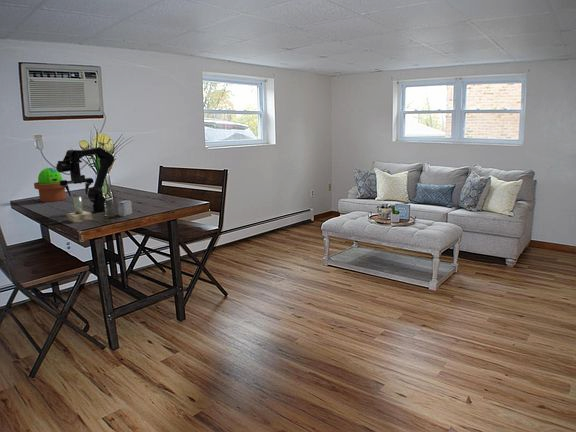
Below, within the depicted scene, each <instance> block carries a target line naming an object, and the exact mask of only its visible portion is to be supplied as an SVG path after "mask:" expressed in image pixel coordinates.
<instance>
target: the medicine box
mask: <svg viewBox="0 0 576 432" xmlns="http://www.w3.org/2000/svg"><path fill="white" fill-rule="evenodd" d="M132 205H133V203H132V200H128V199H127V200H126V199H125V200H122V201H119V202H117V209H118V211H117V212H118V217H126V216H129V215H132V214H133V207H132Z"/></svg>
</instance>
